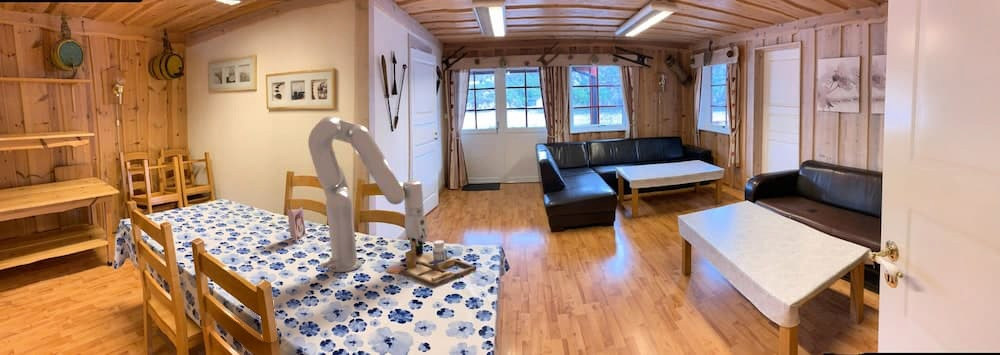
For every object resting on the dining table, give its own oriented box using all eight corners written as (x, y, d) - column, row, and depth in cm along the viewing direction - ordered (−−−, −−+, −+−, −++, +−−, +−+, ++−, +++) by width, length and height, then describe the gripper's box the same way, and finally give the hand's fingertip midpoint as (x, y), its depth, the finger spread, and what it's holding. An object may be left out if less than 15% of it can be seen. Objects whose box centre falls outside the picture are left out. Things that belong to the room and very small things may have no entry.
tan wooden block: (415, 277, 185) (414, 259, 183) (401, 271, 191) (399, 254, 190) (432, 270, 190) (431, 253, 189) (417, 265, 197) (416, 248, 195)
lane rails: (433, 287, 175) (433, 280, 174) (400, 273, 189) (400, 267, 188) (476, 269, 190) (476, 264, 189) (443, 258, 203) (442, 253, 203)
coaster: (393, 274, 188) (393, 273, 188) (382, 270, 193) (382, 269, 193) (408, 269, 193) (408, 268, 193) (397, 265, 198) (397, 264, 197)
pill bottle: (440, 261, 200) (438, 238, 198) (450, 264, 197) (448, 240, 195) (430, 265, 196) (429, 242, 194) (440, 268, 192) (439, 244, 191)
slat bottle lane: (439, 270, 190) (438, 253, 189) (408, 258, 204) (406, 242, 203) (454, 264, 196) (453, 247, 195) (423, 253, 210) (422, 238, 209)
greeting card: (298, 243, 231) (295, 212, 228) (282, 244, 231) (278, 213, 228) (307, 236, 242) (304, 206, 239) (292, 236, 242) (288, 207, 239)
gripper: (433, 212, 200) (436, 255, 203) (410, 206, 211) (413, 247, 214) (418, 216, 195) (421, 260, 198) (395, 210, 206) (398, 252, 209)
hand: (417, 253), depth 206 cm, fingers closed on slat bottle lane, 2 cm apart
